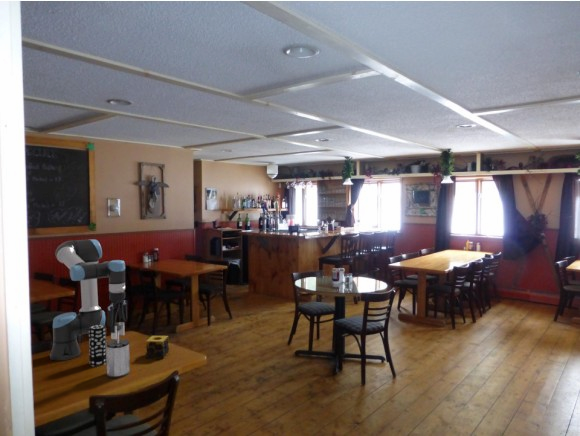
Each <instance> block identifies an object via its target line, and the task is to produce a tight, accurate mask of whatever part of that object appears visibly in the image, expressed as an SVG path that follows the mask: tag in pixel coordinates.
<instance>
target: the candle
mask: <svg viewBox="0 0 580 436" xmlns="http://www.w3.org/2000/svg"><path fill="white" fill-rule="evenodd" d="M145 344H146V346H145V348H146V351H145V359H147V360H151V358H152V359H153V360H155V359H156V360H158V359H157V358H162V359H161V360H163V358H164V357H165V356H167V355H168V354H169V353H168V352H169V350H170V348H169V346H170V345H169V335H150V337H149V338H148V339H147V340H146V341H145ZM167 353H168V354H167ZM166 354H167V355H166ZM165 358H166V357H165ZM165 358H164V359H165Z"/></svg>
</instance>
